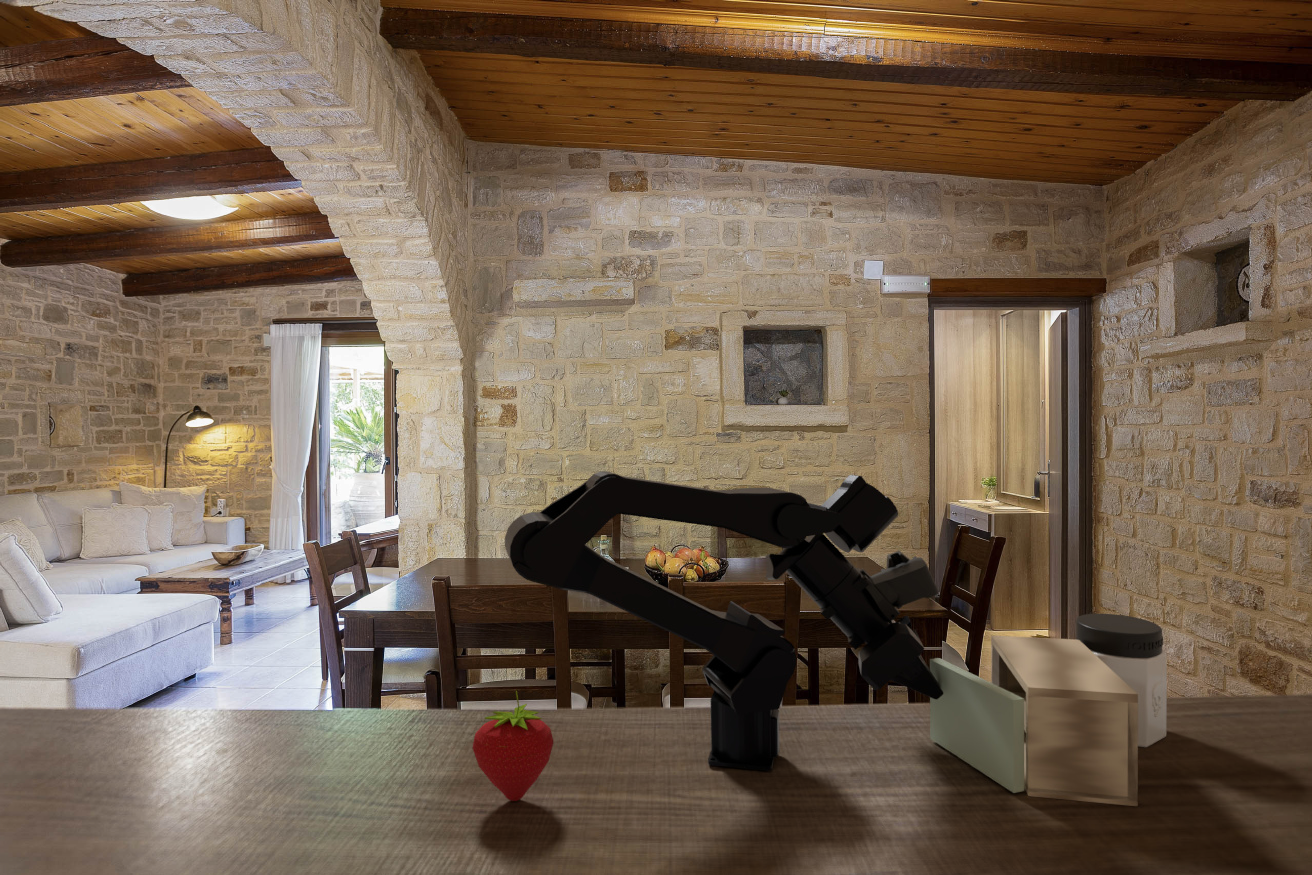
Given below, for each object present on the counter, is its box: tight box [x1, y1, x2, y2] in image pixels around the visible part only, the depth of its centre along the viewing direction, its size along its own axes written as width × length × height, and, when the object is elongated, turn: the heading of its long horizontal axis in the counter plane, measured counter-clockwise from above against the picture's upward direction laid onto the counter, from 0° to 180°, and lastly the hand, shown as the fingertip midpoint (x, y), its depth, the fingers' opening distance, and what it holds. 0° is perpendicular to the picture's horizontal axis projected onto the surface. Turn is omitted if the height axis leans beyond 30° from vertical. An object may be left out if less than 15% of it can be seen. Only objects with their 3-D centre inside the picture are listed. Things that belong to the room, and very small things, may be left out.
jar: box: [1075, 613, 1168, 748], centre depth 81 cm, size 9×8×12 cm
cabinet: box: [990, 635, 1139, 807], centre depth 75 cm, size 9×16×10 cm, turn 167°
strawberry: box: [472, 690, 554, 802], centre depth 69 cm, size 6×8×10 cm
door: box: [929, 657, 1025, 794], centre depth 74 cm, size 1×12×9 cm, turn 16°
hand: (938, 693), depth 77 cm, fingers closed
